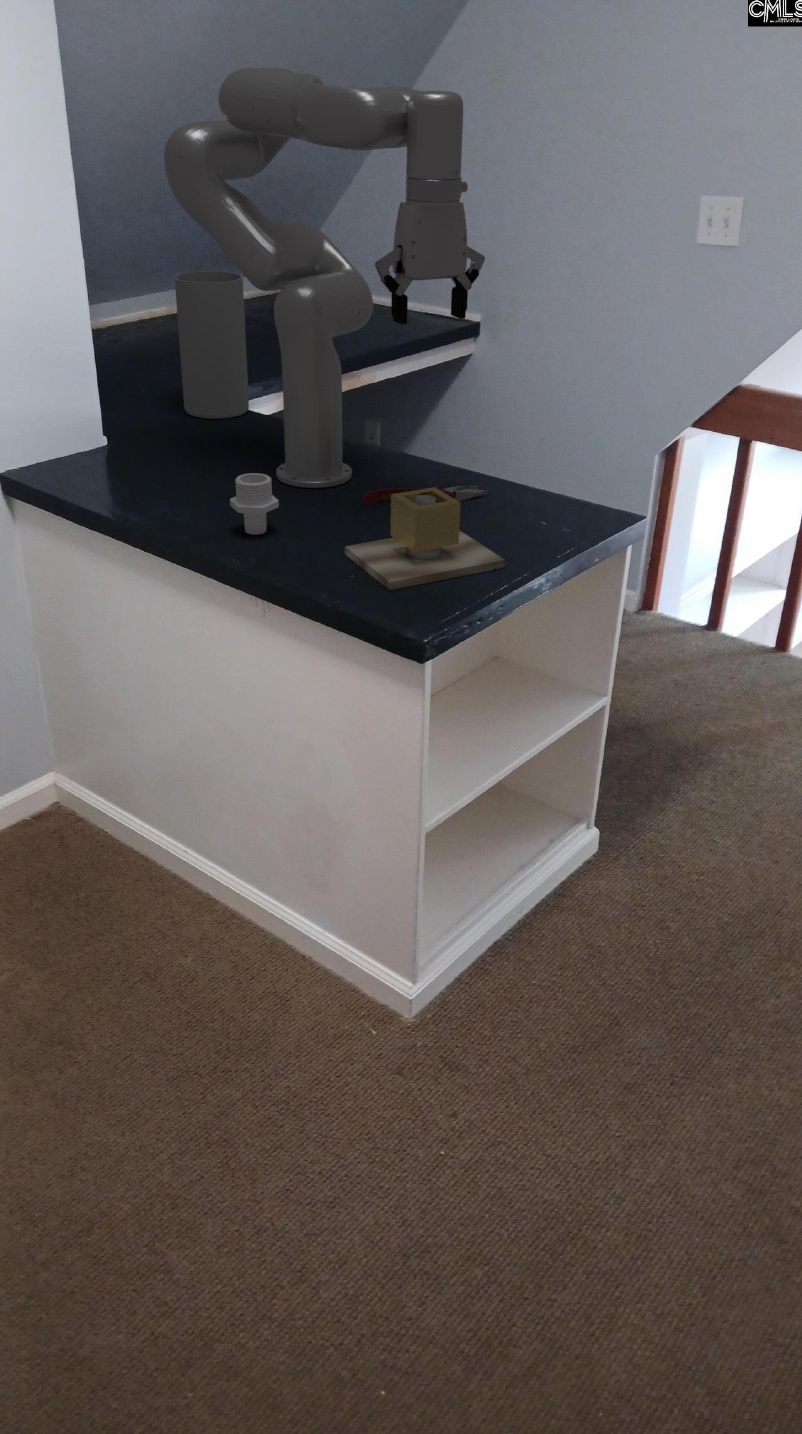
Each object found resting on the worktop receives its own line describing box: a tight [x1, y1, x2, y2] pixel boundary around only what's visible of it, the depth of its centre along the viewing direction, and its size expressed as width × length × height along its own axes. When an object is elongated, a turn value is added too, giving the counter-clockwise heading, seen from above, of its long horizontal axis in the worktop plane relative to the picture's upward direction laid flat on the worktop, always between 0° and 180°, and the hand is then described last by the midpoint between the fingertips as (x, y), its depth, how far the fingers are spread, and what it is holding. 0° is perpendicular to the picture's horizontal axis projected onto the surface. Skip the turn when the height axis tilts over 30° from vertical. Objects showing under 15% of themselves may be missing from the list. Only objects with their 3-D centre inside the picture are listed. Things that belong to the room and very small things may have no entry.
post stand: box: [344, 495, 506, 591], centre depth 162 cm, size 14×18×9 cm
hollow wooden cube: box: [390, 486, 461, 552], centre depth 162 cm, size 7×7×6 cm
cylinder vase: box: [174, 270, 250, 420], centre depth 223 cm, size 12×12×25 cm
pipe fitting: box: [229, 472, 280, 535], centre depth 172 cm, size 6×7×8 cm
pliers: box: [361, 484, 490, 506], centre depth 185 cm, size 12×20×3 cm, turn 121°
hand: (429, 320), depth 170 cm, fingers open, 9 cm apart
